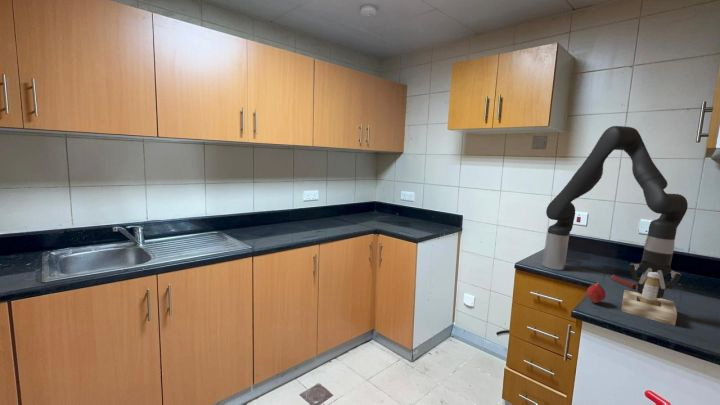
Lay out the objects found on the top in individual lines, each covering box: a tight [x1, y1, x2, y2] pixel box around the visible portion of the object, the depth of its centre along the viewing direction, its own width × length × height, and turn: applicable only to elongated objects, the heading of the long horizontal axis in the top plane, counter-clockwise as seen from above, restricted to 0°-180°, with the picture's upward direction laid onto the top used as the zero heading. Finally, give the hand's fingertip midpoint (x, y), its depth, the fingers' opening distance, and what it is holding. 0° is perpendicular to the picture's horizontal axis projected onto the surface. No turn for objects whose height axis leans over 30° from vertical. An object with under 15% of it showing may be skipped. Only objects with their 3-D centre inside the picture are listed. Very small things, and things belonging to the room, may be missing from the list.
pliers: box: [610, 274, 644, 291], centre depth 139 cm, size 12×20×3 cm, turn 165°
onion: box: [585, 282, 607, 304], centre depth 121 cm, size 6×6×8 cm
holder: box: [620, 289, 678, 327], centre depth 116 cm, size 14×14×4 cm
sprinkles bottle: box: [640, 272, 661, 305], centre depth 115 cm, size 5×5×14 cm
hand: (649, 295), depth 116 cm, fingers closed on sprinkles bottle, 4 cm apart
